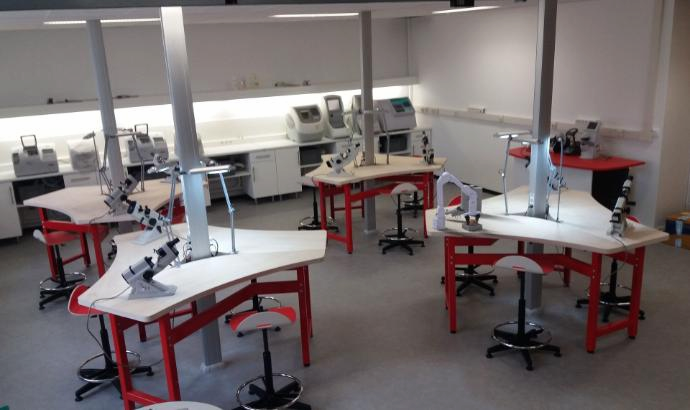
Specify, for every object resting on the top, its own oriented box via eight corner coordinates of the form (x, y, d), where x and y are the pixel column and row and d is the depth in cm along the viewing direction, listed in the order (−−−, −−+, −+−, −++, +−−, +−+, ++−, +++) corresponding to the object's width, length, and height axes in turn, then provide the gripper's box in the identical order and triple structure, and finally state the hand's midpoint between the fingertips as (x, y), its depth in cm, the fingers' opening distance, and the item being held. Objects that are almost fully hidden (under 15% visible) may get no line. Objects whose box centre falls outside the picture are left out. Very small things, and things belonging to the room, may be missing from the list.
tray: (469, 231, 436) (469, 226, 435) (461, 227, 445) (461, 223, 444) (482, 229, 440) (482, 224, 439) (474, 225, 449) (475, 221, 449)
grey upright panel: (461, 214, 482) (462, 185, 476) (460, 213, 487) (461, 184, 481) (482, 214, 482) (483, 185, 476) (480, 212, 487) (481, 184, 481)
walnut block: (470, 228, 440) (471, 221, 438) (467, 226, 444) (467, 219, 443) (476, 227, 441) (476, 220, 440) (472, 226, 446) (472, 218, 445)
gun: (469, 221, 459) (463, 204, 458) (440, 230, 472) (433, 213, 471) (471, 219, 463) (465, 202, 462) (442, 228, 477) (435, 212, 476)
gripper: (467, 209, 432) (467, 226, 436) (483, 207, 437) (483, 224, 441) (462, 207, 439) (461, 224, 442) (478, 205, 444) (477, 221, 447)
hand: (472, 224), depth 442 cm, fingers open, 7 cm apart
